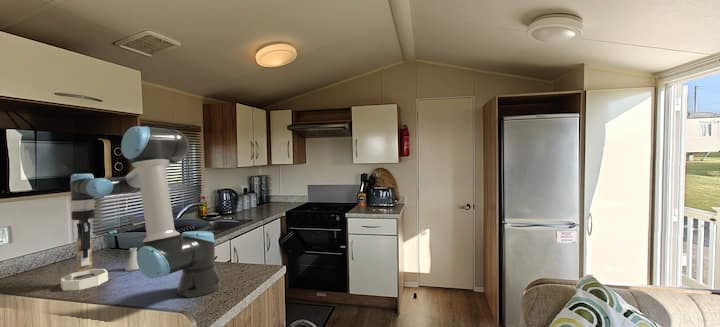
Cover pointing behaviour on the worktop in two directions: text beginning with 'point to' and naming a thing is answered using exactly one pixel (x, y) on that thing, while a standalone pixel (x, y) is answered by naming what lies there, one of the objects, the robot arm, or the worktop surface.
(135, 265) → the flask
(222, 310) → the worktop surface
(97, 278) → the white octagonal tray
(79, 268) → the wooden block
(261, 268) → the worktop surface
